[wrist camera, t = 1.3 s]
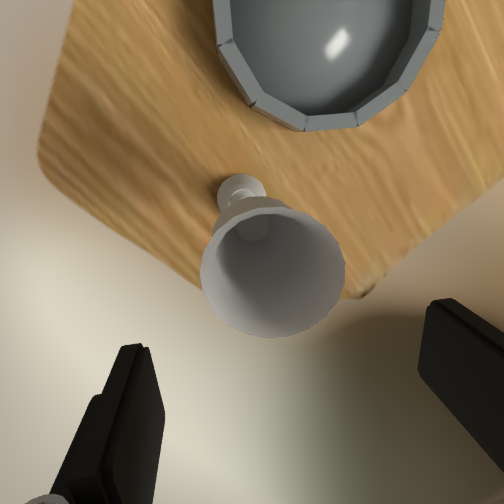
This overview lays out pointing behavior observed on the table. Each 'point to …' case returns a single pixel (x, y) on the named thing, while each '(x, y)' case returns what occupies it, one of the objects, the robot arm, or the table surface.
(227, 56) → the bowl
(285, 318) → the chalice
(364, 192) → the table surface
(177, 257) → the table surface
